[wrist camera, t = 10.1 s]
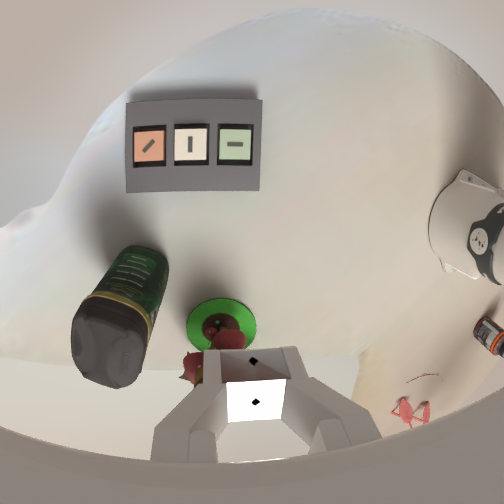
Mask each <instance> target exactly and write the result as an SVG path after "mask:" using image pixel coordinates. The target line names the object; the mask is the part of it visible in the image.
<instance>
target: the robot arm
mask: <svg viewBox="0 0 504 504" xmlns="http://www.w3.org/2000/svg"><path fill="white" fill-rule="evenodd" d="M468 178H469V179H468ZM429 238H430V243H431V246H432V248H433V250H434V252H435V253H436V255H437V256H438V257H439V258H440V260H441V263H442V267H443V270H444V271H445V272H447V273H451V272H454V271H457V270H458V271H459V272H461V273H463V274H465V275H467V276H469V277H471V278H473V279H477V278H479V277H482V276H484V277H485V278H486V279H487V280H489V281H490V282H492V283H495V284H497V285H503V286H504V190H502V189H500V188H497V189H496V188H495V187H493V186H492V185H490V184H488V183H487V182H485V181H484V180H482V179H480V178H479V177H477V176H476V175H474V174H472V173H471V172H469V171H467V170H464V169H463V170H461V171H460V172H459V174H458V175H457V177H456V179H455V181H454V182H453V183H452V184H450V185H449V186H448V187H446V188H445V189H444V190H443V191H442V193H441V194H440V195H439V197H438V198H437V200H436V202H435V204H434V207H433V210H432V213H431V217H430V223H429ZM220 357H221V359H220ZM274 418H281V420H282V421H283V422H284V423H285V424H286V425H287V426H288V427H289V428H291V429H292V430H293V431H294V432H295V433H296V434H297V435H298V436H299V437H300V438H301V439H302V440H303V441H305V442H306V443H307V444H308V445H309V446H310V450H309V453H308V455H303V456H296V457H289V458H281V459H272V460H261V461H249V462H231V463H218V456H217V447H216V441H217V440H218V438H219V437H220V435H221V434H222V432H223V431H224V429H225V428H226V426H227V424H228V422H230V421H244V420H254V419H255V420H258V419H274ZM0 504H504V387H503V388H501V389H500V390H498V391H496V392H494V393H492V394H490V395H488V396H486V397H485V398H483V399H481V400H479V401H477V402H475V403H472V404H470V405H468V406H466V407H464V408H462V409H460V410H457V411H455V412H453V413H450V414H448V415H446V416H443V417H441V418H438V419H436V420H433V421H431V422H428V423H426V424H423V425H420V426H417V427H415V428H412V429H409V430H406V431H403V432H400V433H397V434H393V435H390V436H387V437H384V438H382V436H381V434H380V432H379V430H378V428H377V426H376V424H375V423H374V421H373V419H372V417H371V415H370V413H369V411H368V410H366V409H365V408H363V407H361V406H359V405H358V404H356V403H354V402H353V401H351V400H349V399H348V398H346V397H344V396H342V395H341V394H339V393H338V392H336V391H335V390H333V389H331V388H330V387H328V386H327V385H325V384H323V383H322V382H320V381H318V380H317V379H315V378H314V377H310V378H309V377H308V374H307V372H306V369H305V367H304V364H303V362H302V359H301V357H300V354H299V351H298V349H297V347H296V346H287V347H280V348H267V349H236V350H204V364H203V384H198V385H197V386H196V387H195V388H194V389H193V390H192V391H191V392H190V393H189V394H188V395H187V396H186V397H185V398H184V399H183V400H182V401H181V402H180V403H179V404H178V405H177V406H176V407H175V408H174V409H173V410H172V411H171V412H170V413H169V414H168V415H167V416H166V417H165V418H164V419H163V420H162V421H161V422H160V423H159V424H158V425H157V426H156V427H155V430H154V437H153V444H152V451H151V459H150V460H140V459H131V458H124V457H117V456H110V455H104V454H98V453H93V452H88V451H83V450H78V449H74V448H69V447H65V446H61V445H57V444H53V443H50V442H46V441H42V440H39V439H36V438H33V437H30V436H26V435H23V434H20V433H17V432H14V431H12V430H9V429H6V428H4V427H1V426H0Z"/></svg>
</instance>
